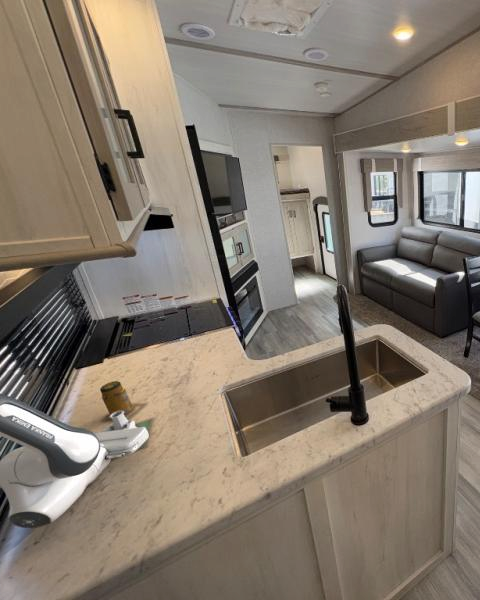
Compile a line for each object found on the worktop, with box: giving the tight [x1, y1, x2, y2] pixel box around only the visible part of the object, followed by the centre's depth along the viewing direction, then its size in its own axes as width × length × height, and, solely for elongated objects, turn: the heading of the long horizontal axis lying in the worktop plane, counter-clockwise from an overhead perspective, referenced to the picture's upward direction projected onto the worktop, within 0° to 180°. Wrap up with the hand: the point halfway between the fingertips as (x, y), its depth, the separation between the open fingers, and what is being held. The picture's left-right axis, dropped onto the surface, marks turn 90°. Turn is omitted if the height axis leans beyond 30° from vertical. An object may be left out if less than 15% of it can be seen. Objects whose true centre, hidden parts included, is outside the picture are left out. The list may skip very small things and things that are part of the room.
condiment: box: [99, 380, 134, 417], centre depth 106 cm, size 7×8×12 cm
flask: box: [108, 410, 137, 431], centre depth 94 cm, size 7×7×10 cm
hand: (124, 423), depth 95 cm, fingers closed on flask, 3 cm apart
